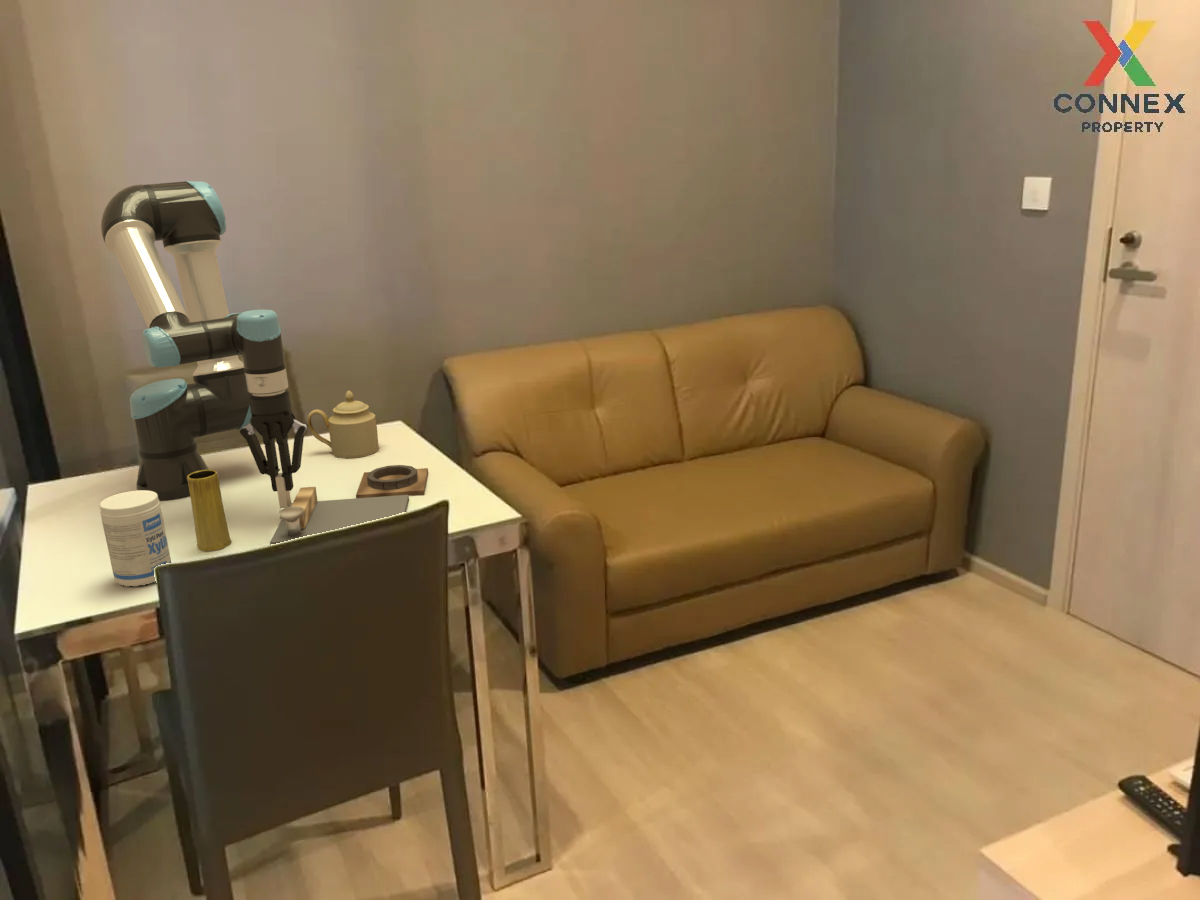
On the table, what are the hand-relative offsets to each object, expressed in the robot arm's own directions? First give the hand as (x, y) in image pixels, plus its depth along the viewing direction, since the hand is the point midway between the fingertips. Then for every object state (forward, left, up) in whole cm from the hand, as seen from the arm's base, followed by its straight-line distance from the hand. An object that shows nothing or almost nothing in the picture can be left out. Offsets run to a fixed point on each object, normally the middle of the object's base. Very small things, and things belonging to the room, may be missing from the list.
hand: (285, 505), depth 200 cm
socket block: (+20, +15, -3) cm, 25 cm away
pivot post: (+4, -11, -3) cm, 12 cm away
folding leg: (+4, -4, -1) cm, 6 cm away
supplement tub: (-20, -23, -3) cm, 31 cm away
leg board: (+12, -4, -3) cm, 13 cm away
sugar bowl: (+7, +40, -3) cm, 40 cm away
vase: (-11, -11, -3) cm, 16 cm away
